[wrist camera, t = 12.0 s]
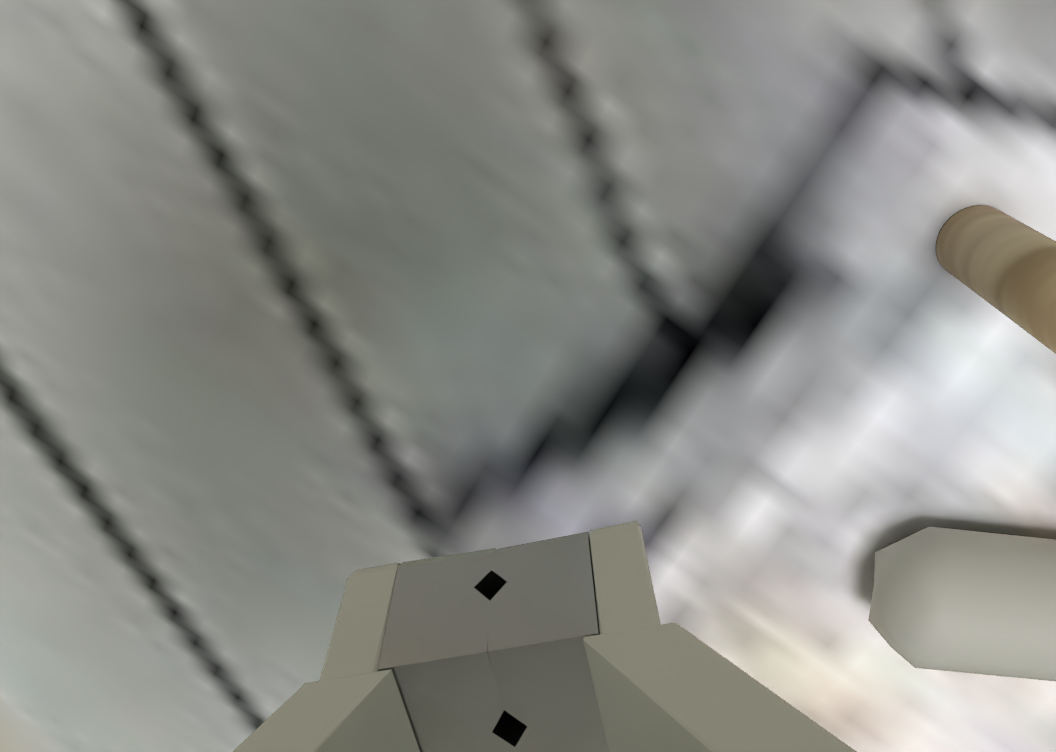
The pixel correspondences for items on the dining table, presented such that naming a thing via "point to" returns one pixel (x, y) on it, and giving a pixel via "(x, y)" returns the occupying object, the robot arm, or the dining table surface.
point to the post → (1004, 266)
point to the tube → (969, 602)
